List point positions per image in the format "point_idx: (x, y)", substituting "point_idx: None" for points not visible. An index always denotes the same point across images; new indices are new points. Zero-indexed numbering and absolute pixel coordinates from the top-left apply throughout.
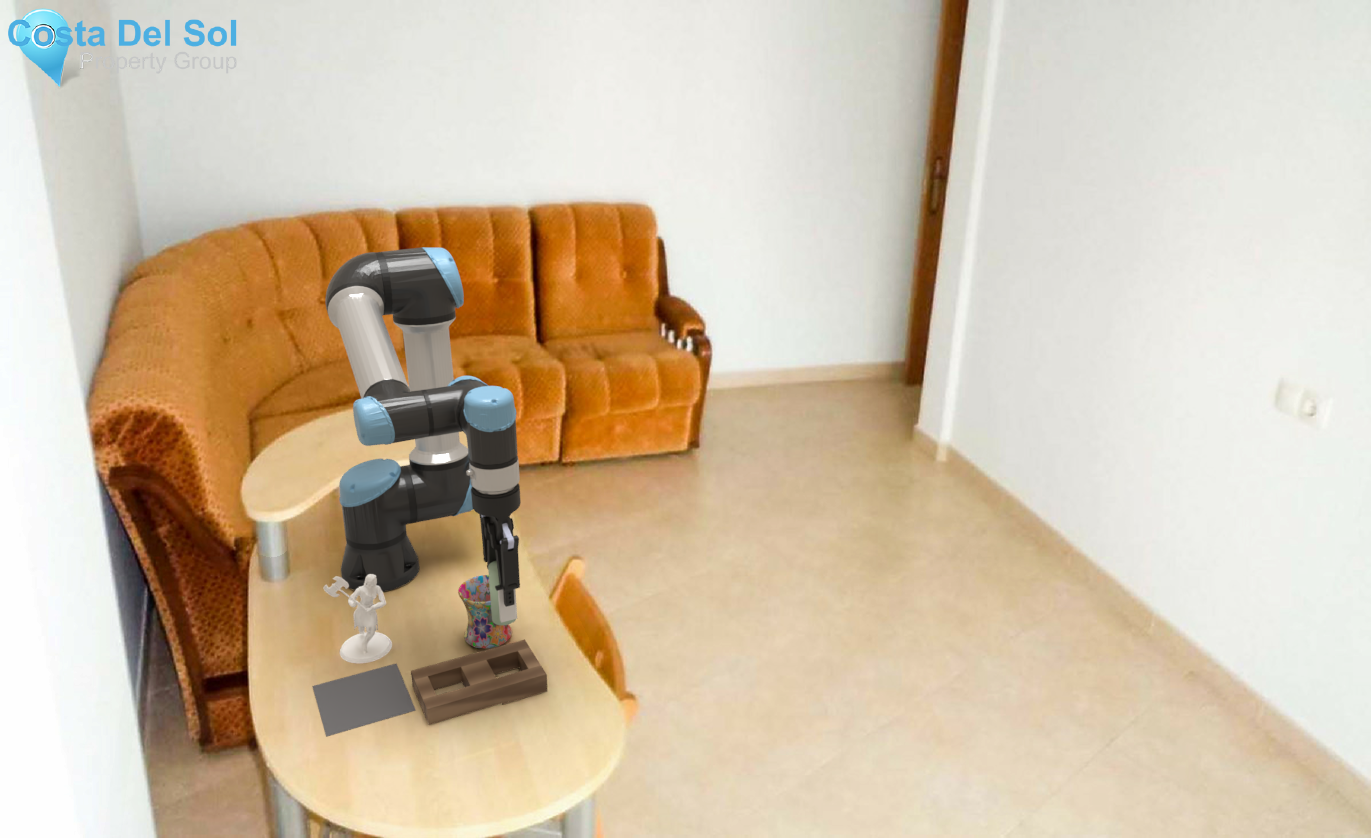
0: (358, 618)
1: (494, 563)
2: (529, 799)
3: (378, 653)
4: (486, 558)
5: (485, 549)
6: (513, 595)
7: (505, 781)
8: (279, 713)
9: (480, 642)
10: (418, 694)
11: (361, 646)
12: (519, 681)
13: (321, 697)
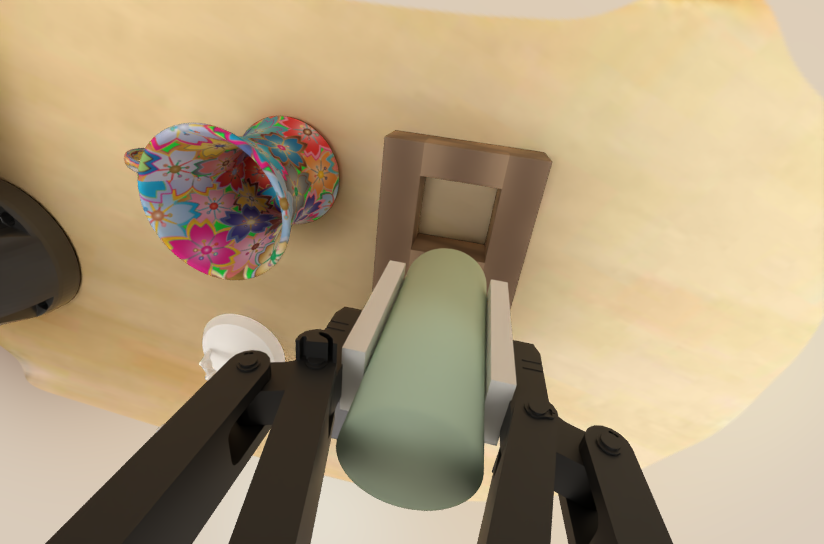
0: None
1: (362, 466)
2: (786, 334)
3: (268, 351)
4: (266, 431)
5: (232, 482)
6: (544, 382)
7: (708, 341)
8: (339, 467)
9: (321, 210)
10: None
11: None
12: (531, 230)
13: (335, 433)
